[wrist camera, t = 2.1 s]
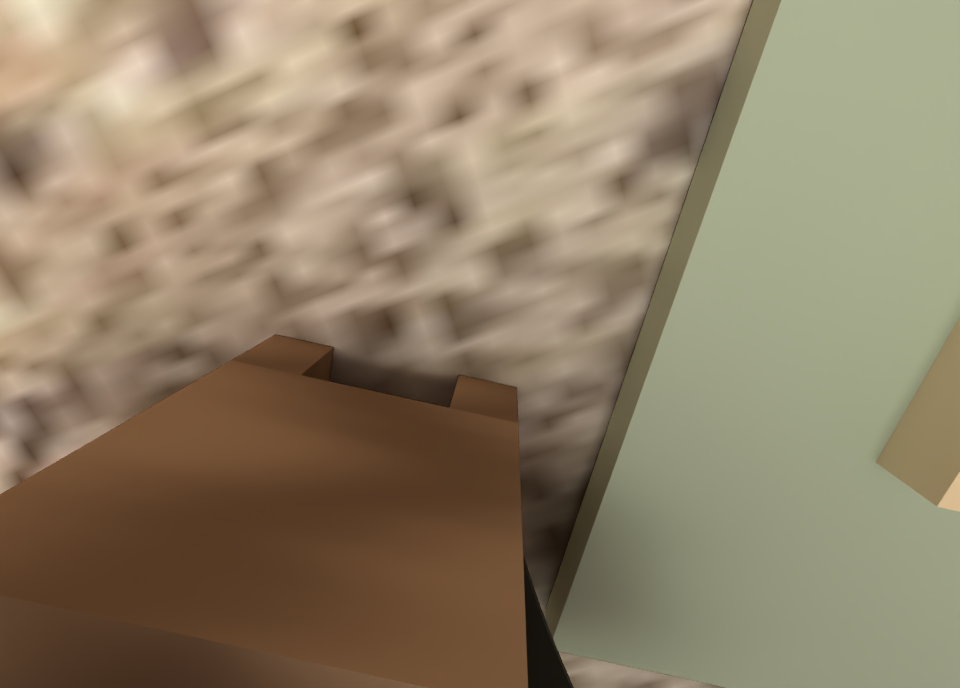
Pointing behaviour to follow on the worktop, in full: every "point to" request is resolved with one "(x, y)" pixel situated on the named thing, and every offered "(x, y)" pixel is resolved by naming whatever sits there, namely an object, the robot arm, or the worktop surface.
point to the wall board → (795, 379)
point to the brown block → (274, 540)
